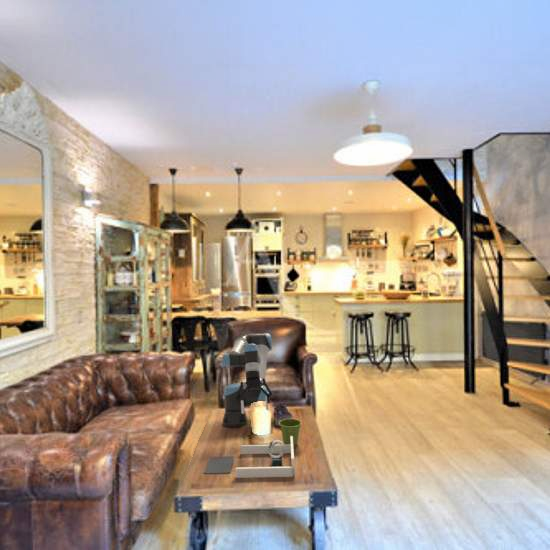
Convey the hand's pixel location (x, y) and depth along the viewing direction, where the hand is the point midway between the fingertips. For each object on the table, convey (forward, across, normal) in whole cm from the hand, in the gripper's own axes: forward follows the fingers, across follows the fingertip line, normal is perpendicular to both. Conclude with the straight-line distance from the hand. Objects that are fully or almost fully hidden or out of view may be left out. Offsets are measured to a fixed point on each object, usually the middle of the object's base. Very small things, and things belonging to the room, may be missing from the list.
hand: (255, 411), depth 212 cm
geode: (+1, +6, +38) cm, 39 cm away
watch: (+27, +12, -10) cm, 31 cm away
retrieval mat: (+24, -15, -15) cm, 33 cm away
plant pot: (+17, +15, +11) cm, 25 cm away
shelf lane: (+26, +7, -11) cm, 29 cm away
